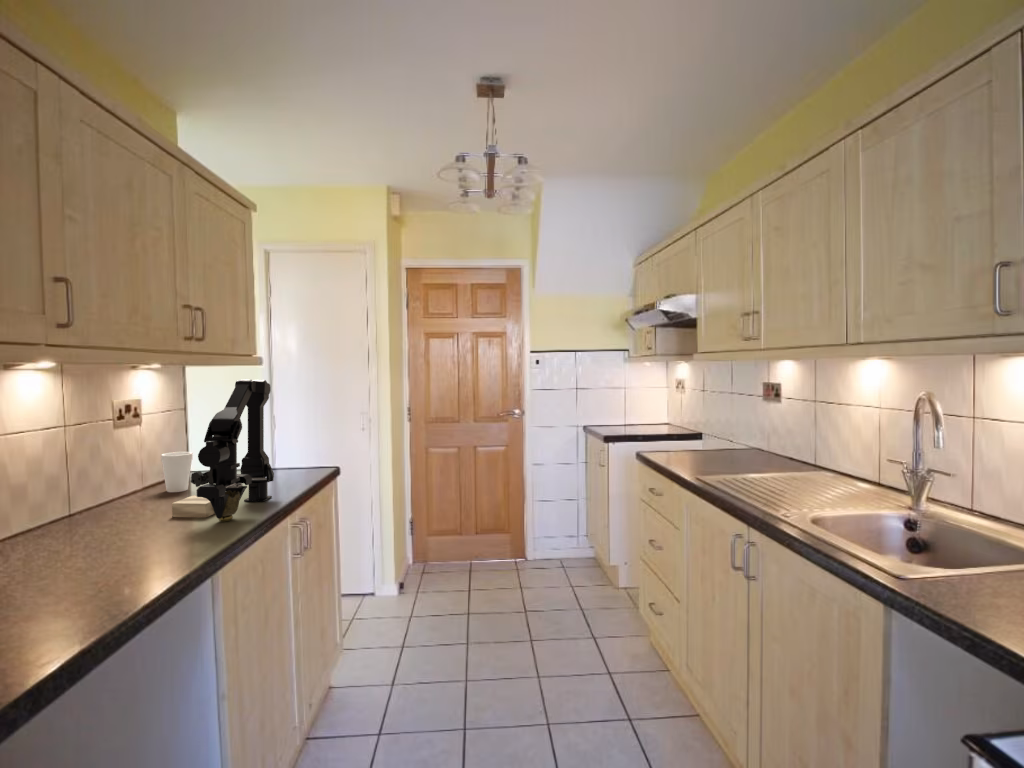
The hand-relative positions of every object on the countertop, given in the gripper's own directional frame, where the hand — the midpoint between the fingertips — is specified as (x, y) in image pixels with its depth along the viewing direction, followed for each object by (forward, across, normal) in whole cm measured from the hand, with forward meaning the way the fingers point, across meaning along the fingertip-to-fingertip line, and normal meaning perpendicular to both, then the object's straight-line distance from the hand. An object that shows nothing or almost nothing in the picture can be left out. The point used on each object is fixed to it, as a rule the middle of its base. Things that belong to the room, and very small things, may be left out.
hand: (225, 515), depth 155 cm
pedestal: (+2, -8, -12) cm, 15 cm away
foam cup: (+2, -37, -38) cm, 53 cm away
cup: (+2, 0, 0) cm, 2 cm away
